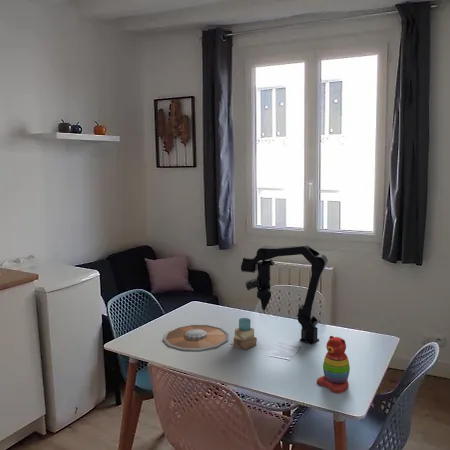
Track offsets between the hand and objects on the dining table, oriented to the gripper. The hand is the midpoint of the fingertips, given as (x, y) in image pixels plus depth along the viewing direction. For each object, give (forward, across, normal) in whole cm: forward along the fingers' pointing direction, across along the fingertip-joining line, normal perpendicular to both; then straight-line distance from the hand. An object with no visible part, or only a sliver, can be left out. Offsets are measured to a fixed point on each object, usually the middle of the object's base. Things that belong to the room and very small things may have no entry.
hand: (263, 306), depth 220 cm
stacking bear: (+13, +48, +25) cm, 55 cm away
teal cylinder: (+5, +14, -8) cm, 17 cm away
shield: (+14, +7, -31) cm, 34 cm away
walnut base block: (+13, +14, -8) cm, 21 cm away
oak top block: (+9, +15, -8) cm, 19 cm away
